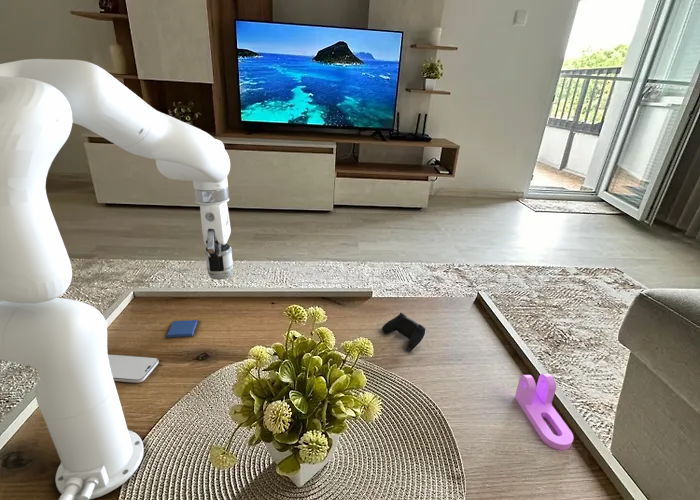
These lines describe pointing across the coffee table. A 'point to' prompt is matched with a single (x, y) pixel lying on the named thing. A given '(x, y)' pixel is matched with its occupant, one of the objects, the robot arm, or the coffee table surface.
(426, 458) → the coffee table surface
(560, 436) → the bracket
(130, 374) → the smartphone
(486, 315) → the coffee table surface
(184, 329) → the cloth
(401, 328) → the gaming controller
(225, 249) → the camera lens
